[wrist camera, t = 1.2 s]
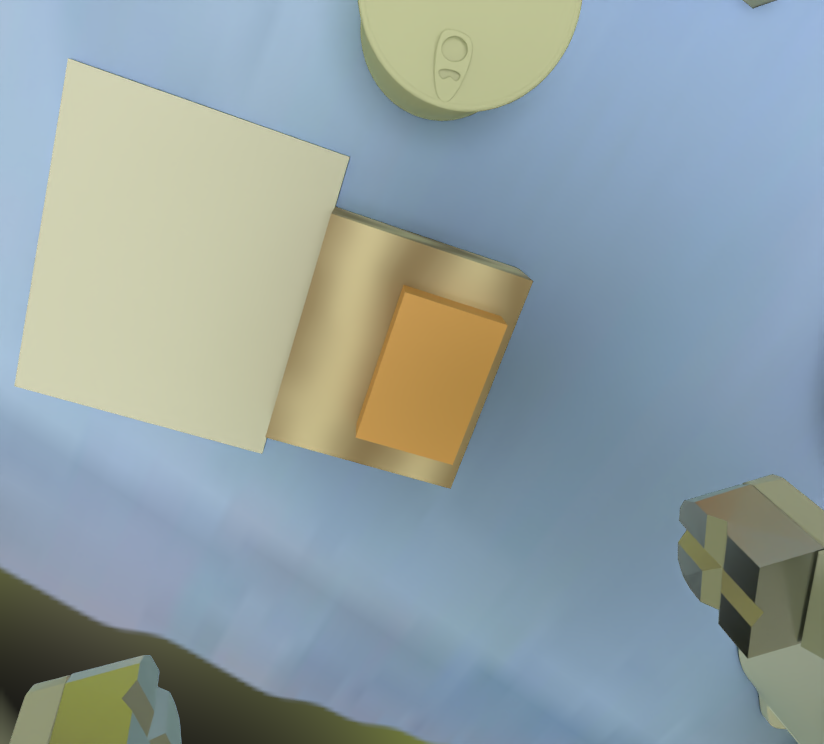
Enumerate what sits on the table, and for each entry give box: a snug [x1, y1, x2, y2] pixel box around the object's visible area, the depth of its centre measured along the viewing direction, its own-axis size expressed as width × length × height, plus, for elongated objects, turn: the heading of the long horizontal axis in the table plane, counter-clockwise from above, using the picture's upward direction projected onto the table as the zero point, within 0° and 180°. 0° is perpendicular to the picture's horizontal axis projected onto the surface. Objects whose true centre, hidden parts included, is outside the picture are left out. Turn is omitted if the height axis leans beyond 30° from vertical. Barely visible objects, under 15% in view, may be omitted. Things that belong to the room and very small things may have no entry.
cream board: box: [15, 59, 350, 454], centre depth 41 cm, size 16×20×1 cm
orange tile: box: [356, 285, 508, 465], centre depth 39 cm, size 6×9×2 cm, turn 161°
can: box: [358, 0, 582, 121], centre depth 32 cm, size 9×9×12 cm
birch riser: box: [265, 207, 533, 488], centre depth 41 cm, size 12×14×4 cm
